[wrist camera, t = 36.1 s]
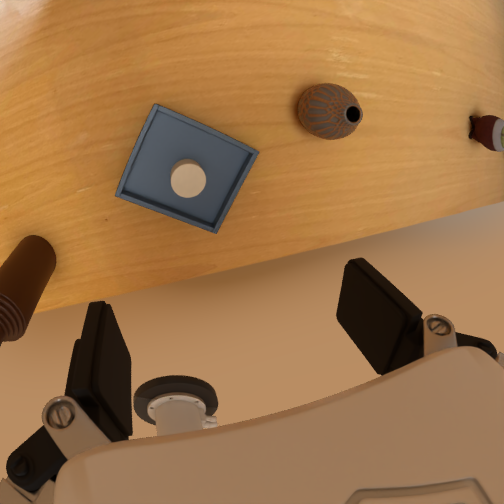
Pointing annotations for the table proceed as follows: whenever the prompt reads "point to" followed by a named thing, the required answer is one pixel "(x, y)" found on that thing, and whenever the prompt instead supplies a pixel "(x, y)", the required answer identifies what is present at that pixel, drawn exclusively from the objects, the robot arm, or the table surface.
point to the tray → (175, 149)
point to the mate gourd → (488, 132)
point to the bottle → (23, 284)
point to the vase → (329, 111)
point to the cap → (187, 178)
